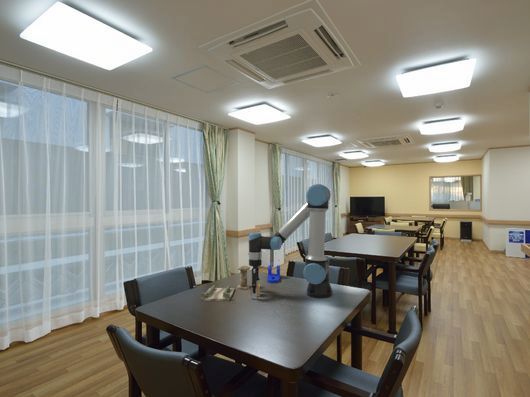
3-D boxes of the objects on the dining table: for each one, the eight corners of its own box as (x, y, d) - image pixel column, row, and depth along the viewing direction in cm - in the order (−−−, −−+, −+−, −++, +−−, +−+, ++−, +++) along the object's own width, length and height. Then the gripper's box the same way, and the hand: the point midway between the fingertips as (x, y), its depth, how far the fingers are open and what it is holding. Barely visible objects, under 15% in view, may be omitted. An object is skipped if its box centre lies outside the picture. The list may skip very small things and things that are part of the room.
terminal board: (234, 289, 179) (234, 284, 179) (229, 300, 159) (229, 294, 159) (209, 289, 180) (209, 283, 180) (201, 300, 160) (201, 294, 160)
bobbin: (250, 285, 188) (250, 266, 188) (249, 289, 180) (249, 268, 180) (238, 285, 188) (238, 266, 188) (236, 289, 180) (236, 268, 180)
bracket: (268, 276, 212) (268, 264, 212) (280, 276, 211) (279, 264, 211) (266, 283, 194) (266, 270, 194) (278, 283, 193) (278, 270, 193)
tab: (260, 294, 171) (260, 282, 171) (259, 296, 166) (259, 284, 166) (251, 293, 171) (251, 282, 171) (251, 296, 166) (250, 284, 166)
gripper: (251, 254, 181) (251, 288, 181) (246, 263, 157) (246, 302, 156) (262, 254, 181) (262, 288, 181) (260, 263, 156) (260, 302, 156)
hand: (255, 294), depth 169 cm, fingers open, 13 cm apart
